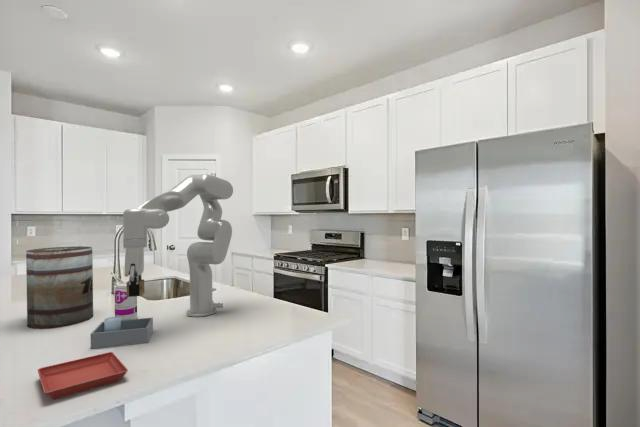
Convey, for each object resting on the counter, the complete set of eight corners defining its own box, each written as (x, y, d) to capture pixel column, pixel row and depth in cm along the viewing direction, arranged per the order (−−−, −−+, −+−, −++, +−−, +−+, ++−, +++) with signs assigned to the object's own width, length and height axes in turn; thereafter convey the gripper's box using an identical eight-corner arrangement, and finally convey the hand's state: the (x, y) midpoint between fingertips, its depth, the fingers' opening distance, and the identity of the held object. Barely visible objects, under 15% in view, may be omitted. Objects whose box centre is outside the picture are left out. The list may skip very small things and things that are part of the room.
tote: (153, 330, 136) (152, 317, 136) (147, 342, 123) (147, 328, 123) (101, 335, 131) (101, 322, 131) (90, 348, 118) (90, 333, 118)
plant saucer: (112, 361, 109) (112, 350, 109) (129, 381, 96) (128, 369, 96) (37, 380, 97) (36, 368, 97) (44, 407, 84) (44, 393, 84)
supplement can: (127, 323, 145) (127, 286, 145) (110, 322, 146) (109, 286, 146) (141, 317, 153) (141, 282, 153) (124, 316, 154) (124, 282, 154)
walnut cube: (129, 294, 130) (129, 280, 130) (144, 293, 131) (144, 279, 131) (126, 297, 125) (126, 282, 125) (142, 296, 126) (142, 281, 126)
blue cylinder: (120, 335, 129) (121, 316, 129) (119, 340, 125) (120, 320, 125) (104, 337, 127) (105, 317, 127) (103, 341, 123) (103, 321, 123)
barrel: (105, 314, 158) (104, 246, 158) (57, 331, 136) (56, 252, 136) (65, 311, 164) (64, 246, 164) (12, 326, 142) (11, 251, 142)
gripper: (128, 242, 135) (128, 290, 135) (118, 245, 119) (118, 300, 119) (150, 241, 137) (150, 288, 137) (142, 245, 121) (143, 298, 121)
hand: (135, 293), depth 128 cm, fingers closed on walnut cube, 5 cm apart
